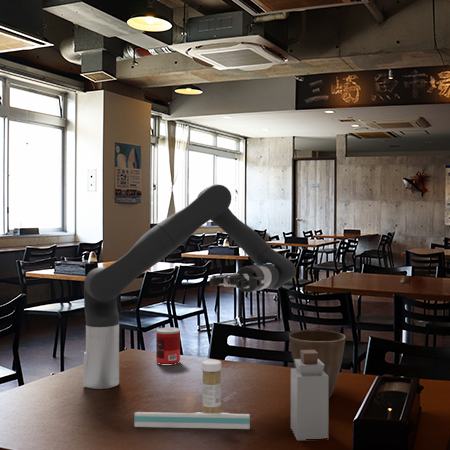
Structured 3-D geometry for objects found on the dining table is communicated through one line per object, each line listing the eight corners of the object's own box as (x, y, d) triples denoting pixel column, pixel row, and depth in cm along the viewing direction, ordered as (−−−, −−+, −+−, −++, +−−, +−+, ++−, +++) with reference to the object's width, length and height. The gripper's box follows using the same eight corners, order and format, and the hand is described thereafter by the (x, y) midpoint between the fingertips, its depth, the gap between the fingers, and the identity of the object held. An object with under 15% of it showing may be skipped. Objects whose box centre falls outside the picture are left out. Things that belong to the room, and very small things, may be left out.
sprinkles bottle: (213, 413, 130) (213, 357, 130) (225, 418, 126) (225, 361, 126) (197, 417, 127) (198, 360, 127) (209, 423, 123) (209, 364, 123)
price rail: (134, 426, 121) (134, 413, 121) (142, 412, 131) (143, 399, 131) (249, 429, 120) (249, 415, 120) (249, 413, 130) (249, 401, 130)
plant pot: (300, 406, 136) (300, 342, 136) (281, 388, 150) (281, 331, 150) (355, 402, 139) (355, 340, 139) (331, 385, 153) (332, 329, 153)
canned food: (183, 360, 180) (183, 328, 180) (173, 366, 173) (173, 332, 173) (162, 359, 183) (163, 326, 183) (152, 364, 175) (152, 331, 175)
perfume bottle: (290, 428, 121) (290, 348, 121) (320, 427, 121) (320, 347, 121) (297, 440, 114) (297, 355, 114) (328, 439, 115) (328, 355, 115)
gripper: (233, 264, 161) (202, 268, 148) (275, 266, 154) (246, 270, 140) (233, 289, 161) (202, 295, 148) (275, 292, 154) (246, 299, 140)
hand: (224, 283), depth 144 cm, fingers open, 8 cm apart
